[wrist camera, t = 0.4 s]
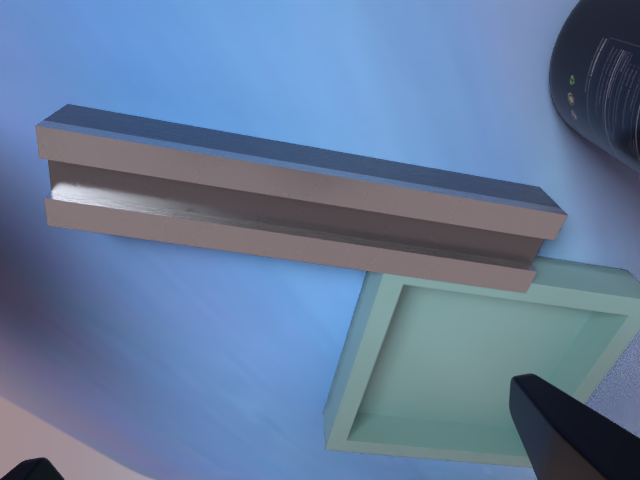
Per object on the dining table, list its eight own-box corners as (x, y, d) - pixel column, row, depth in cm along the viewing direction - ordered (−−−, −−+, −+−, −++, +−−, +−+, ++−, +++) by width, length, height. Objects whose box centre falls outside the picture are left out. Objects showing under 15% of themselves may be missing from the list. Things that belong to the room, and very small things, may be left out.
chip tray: (323, 412, 28) (325, 449, 26) (379, 231, 22) (387, 262, 20) (520, 431, 30) (537, 468, 28) (627, 270, 24) (660, 302, 21)
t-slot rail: (74, 195, 20) (47, 225, 18) (67, 104, 18) (35, 125, 16) (504, 260, 23) (525, 293, 21) (539, 187, 21) (568, 215, 19)
